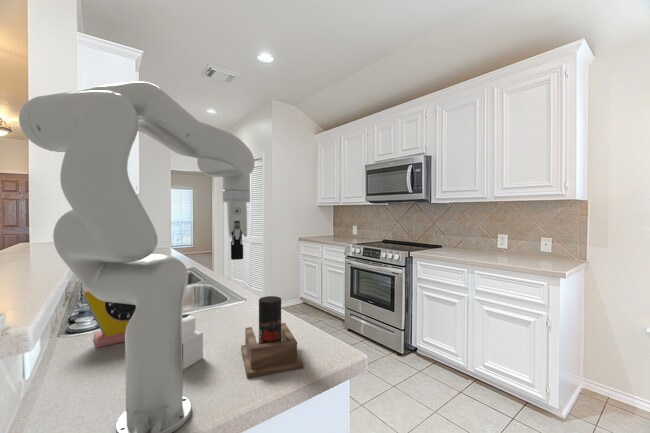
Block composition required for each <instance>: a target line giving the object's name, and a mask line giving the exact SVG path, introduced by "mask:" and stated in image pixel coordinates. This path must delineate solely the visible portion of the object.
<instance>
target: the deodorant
mask: <svg viewBox="0 0 650 433" xmlns="http://www.w3.org/2000/svg"><path fill="white" fill-rule="evenodd" d="M281 323H282V298H281V297H280V296H274V295H270V296H268V295H267V296H262V297H260V298H259V299H258V343H259V344H266V343H273V342H280V341H281Z"/></svg>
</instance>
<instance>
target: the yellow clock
mask: <svg viewBox="0 0 650 433" xmlns="http://www.w3.org/2000/svg"><path fill="white" fill-rule="evenodd" d="M82 297H83V299H84V301H85V304H86V305H87V307H88V308H89V310H90V313H91V314H92V316H93V318H94V320H95V322H96V324H97V326H98V328H99V329H100V331H97V332H95V333H94V334H93V339H94V342H95V347H96V348H98V349H99V348H104V347H109V346H111V345H116V344H120V343H125V332H126V327H127V325H128V322H129V321H130V319H131V317H132V315H133V314H134V312H135V309H136V305H131V304H122V303H112V302H106V301H102V300H100V299H98V298H96V297H95V296H94V295H92V294H91V293H90V292H89V291H88V290H87V289H86V288H85V289H84V290H83V294H82Z"/></svg>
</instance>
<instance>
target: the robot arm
mask: <svg viewBox="0 0 650 433" xmlns="http://www.w3.org/2000/svg"><path fill="white" fill-rule="evenodd" d="M18 124H19V126H20V129H21V131H22V133H23V134H24V136H25V137H26V138H27V139H28V140H29V141H30V142H31V143H33V144H34V145H35V146H37V147H39V148H42V149H44V150H47V151H50V152H55V153H64V156H63V159H62V163H61V168H60V175H59V176H60V178H59V179H60V180H59V181H60V187H61V190H62V192H63V195H64V197H65V199H66V201H67V203H68V204H69V206H70V207H71V208H72V209H71V210H69V211H66V212H65V213H64V214H63V215H61V216H60V217H59V218H58V220H57V221H56V222H55V225H54V228H53V235H52V236H53V237H52V238H53V243H54V247H55V250H56V252H57V254H58V255H59V257H60V258H61V259H62V261H63V262H64V263H65V264H66V266H67V267H68V268H69V269H70V271H71V272H72V273H73V274H74V275H75V276H76V278H77V279H78V280H79V282H80V283H81V284H82V285H83V287H85V289H87V290H88V291H89V292H90V293H91V294H92V295H94V296H95V297H96V298H98V299H100V300H102V301H106V302H112V303H122V304H131V305H136V309H135V312H134V314H133V315H132V317H131V319H130V321H129V322H128V325H127V327H126V332H125V342H124V349H125V351H124V360H125V362H124V363H125V364H124V366H125V368H124V369H125V370H124V371H125V376H124V377H125V411H124V412H123V413H122V414H121V415H120V416H119V418H118V419H117V421H116V423H115V433H174V432H176V431H177V430H179V428H181V427H182V426H183V425H184V424H185V423H186V422H187V421H188V420H189V417H191V416H190V415H191V414H192V403H191V401H190V399H189V398H188V397H185V395H183V394H184V392H183V389H184V388H183V387H184V386H183V384H184V383H183V381H184V380H183V374H184V373H183V370H182V315H184V314H183V311H184V302H185V296H186V293H187V286H188V282H189V281H188V280H189V278H188V277H189V273H188V269H187V267H186V265H185V264H184V263H183V261H181V260H180V259H179V258H177V257H175V256H171V255H167V254H160V253H159V254H158V253H154V252H155V251H156V248H157V246H158V235H157V230H156V229H155V226H154V225H153V222H152V220H151V219H150V216H149V215H148V213H147V211H146V209H145V207H144V205H143V204H142V202H141V200H140V198H139V196H138V195H137V193H136V191H135V189H134V187H133V184H132V182H131V181H130V176H129V173H128V172H129V170H128V163H129V159H130V154H131V150H132V148H133V144H134V143H135V141H136V138H137V135H138V132H140V133H143V134H146V135H147V136H149V138H151V139H154V140H155V141H157V142H158V143H160V144H161V145H163V146H165V147H166V148H168V149H169V150H170V151H172V152H173V153H176V154H178V155H181V156H185V157H188V158H189V157H190V158H193V159H197V160H196V163H197V166H198V167H197V168H198V169H199V171H200V172H201V173H202V174H203V175H205V176H207V177H209V178H210V177H211V178H222V202H223V203H226V204H227V205H226V208H227V217H226V218H227V229H228V236H229V237H230V238H231V241H230V260H232V261H235V260H243V259H244V244H243V236H244V238H247V236H248V209H247V203H251V174H252V173H253V171H254V169H255V158H254V155H253V153H252V151H251V149H250V148H249V147H248V146H247V144H245V143H244V142H243V141H242V140H241V139H240V138H239V137H238V136H236V135H234V134H232V133H230V132H228V131H225V130H223V129H220V128H218V127H216V126H213V125H210V124H209V123H208V124H207V123H204V122H201V121H199V120H198V119H196V117H195V116H193V115H192V114H191V113H190V112H188V111H187V110H186V109H185V108H183V107H182V106H181V105H180V103H178V102H177V101H176V100H175V99H173V98H172V97H171V96H170V95H169V94H168V93H166V91H164V90H163V89H162V88H160V87H159V86H158V85H155V84H154V83H151V82H148V81H130V82H120V83H113V84H103V85H99V86H98V85H97V86H94V87H93V86H92V87H88V88H84V89H77V90H73V91H65V92H60V93H53V94H46V95H40V96H39V95H38V96H36V97H32V98H31V99H29V100H28V101H26V103H24V104H23V105H22V106H21V109H20V111H19V114H18Z"/></svg>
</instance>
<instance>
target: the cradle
mask: <svg viewBox="0 0 650 433" xmlns="http://www.w3.org/2000/svg"><path fill="white" fill-rule="evenodd" d="M244 331H245V336H244V338H245V339H244V340H245V344H243V345H240V350H241V356H242V361H243V366H244V370H245V375H246V379H250V378H257V377H262V376H268V375H273V374H277V373H284V372H291V371H294V370H301V369H304V362H303V360H302V358H301V357H300V355H299V354H298V341H297V340H296V338H295V335H293V333H292V331H291V330H290V328H289V327H288V325H287V324H286V322H281V341H280V342H273V343H266V344H259V342H257V339H256V336H255V333H254V329H253V327H252V326H248V327H245V328H244Z"/></svg>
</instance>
